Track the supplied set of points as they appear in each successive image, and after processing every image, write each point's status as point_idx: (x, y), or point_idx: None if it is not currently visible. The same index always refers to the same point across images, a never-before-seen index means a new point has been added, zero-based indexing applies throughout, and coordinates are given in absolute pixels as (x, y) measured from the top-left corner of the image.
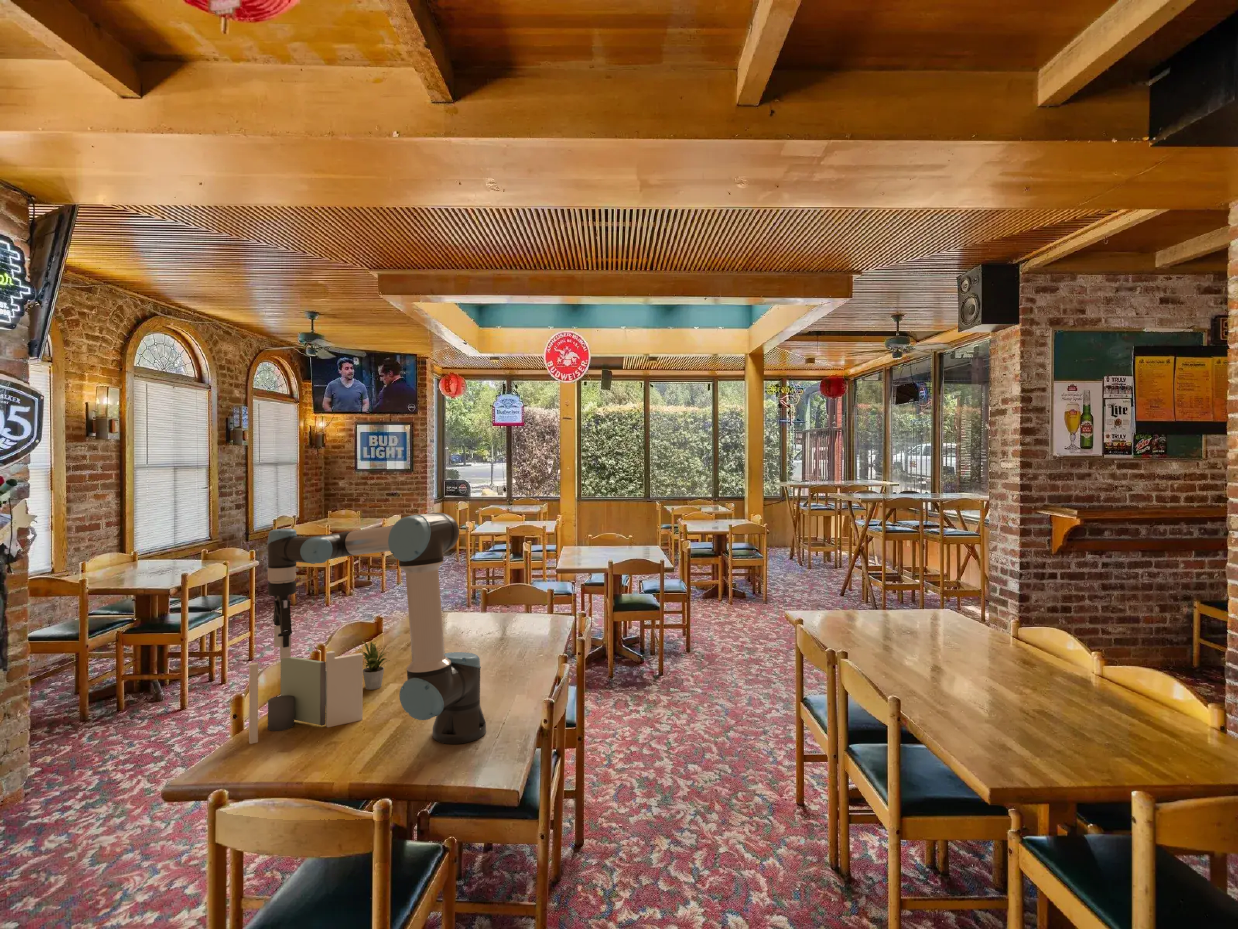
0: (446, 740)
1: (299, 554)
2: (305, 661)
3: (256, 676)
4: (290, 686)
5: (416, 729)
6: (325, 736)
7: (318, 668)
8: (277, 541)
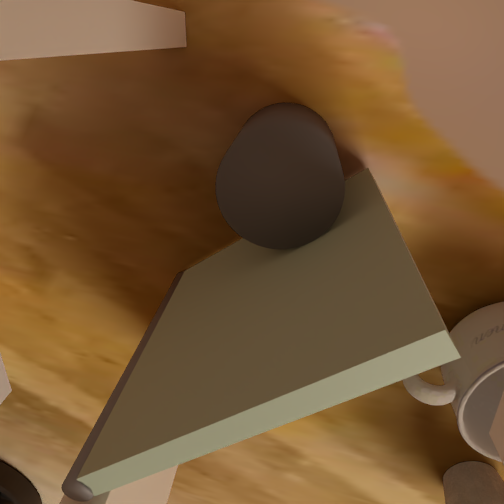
0: None
1: None
2: (186, 429)
3: None
4: (318, 261)
5: (45, 445)
6: (101, 263)
7: (105, 440)
8: None
